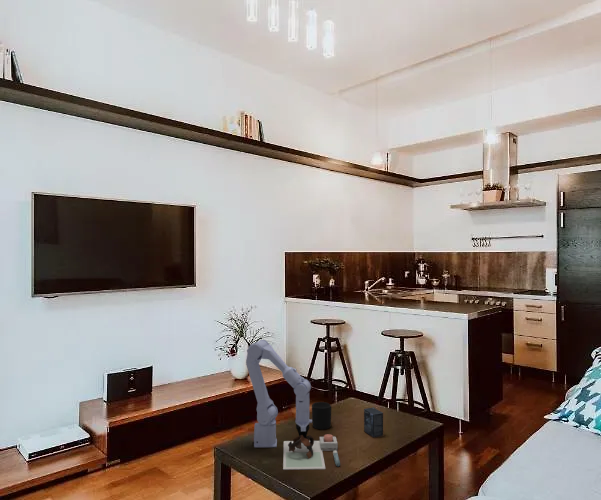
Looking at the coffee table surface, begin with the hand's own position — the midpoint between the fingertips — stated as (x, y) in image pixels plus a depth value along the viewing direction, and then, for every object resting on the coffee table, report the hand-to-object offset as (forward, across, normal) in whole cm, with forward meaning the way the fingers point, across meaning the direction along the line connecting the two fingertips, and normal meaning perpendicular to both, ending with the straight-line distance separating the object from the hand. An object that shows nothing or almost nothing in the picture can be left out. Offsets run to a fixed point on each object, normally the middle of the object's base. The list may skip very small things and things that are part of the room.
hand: (302, 442), depth 188 cm
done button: (+1, +1, -11) cm, 11 cm away
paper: (+3, -6, 0) cm, 6 cm away
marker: (+3, -12, -13) cm, 18 cm away
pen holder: (+3, +25, -10) cm, 27 cm away
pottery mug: (+2, -6, 0) cm, 6 cm away
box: (+3, +15, -33) cm, 36 cm away
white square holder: (+3, +1, -11) cm, 11 cm away
